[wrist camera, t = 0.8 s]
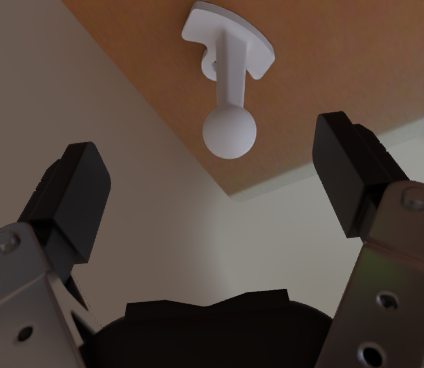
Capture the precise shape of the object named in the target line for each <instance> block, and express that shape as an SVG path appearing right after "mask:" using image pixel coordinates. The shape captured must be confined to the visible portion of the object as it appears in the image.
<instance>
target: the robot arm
mask: <svg viewBox="0 0 424 368" xmlns="http://www.w3.org/2000/svg"><path fill="white" fill-rule="evenodd" d="M312 156H313V163H314V167H315V169H316V171H317V173H318V175H319V178H320V180H321V182H322V184H323V186H324V189H325V191H326V193H327V195H328V197H329V200H330V202H331V204H332V206H333V209H334V211H335V213H336V215H337V217H338V220H339V222H340V224H341V226H342V228H343V231H344V233H345V235H346V237H347V238H354V237H360V238H361V240H362V242H363V246H362V248H361V251H360V253H359V256H358V258H357V261H356V263H355V266H354V268H353V271H352V273H351V276H350V278H349V281H348V283H347V286H346V289H345V291H344V293H343V296H342V298H341V301H340V303H339V306H338V308H337V311H336V313H335V316H334V318H333V319H332V318H331V317H329V316H328V315H326V314H325V313H323V312H321V311H319V310H318V309H316V308H313V307H311V306H309V305H306V304H303V303H299V302H296V301H290V300H289V297H288V292H287V289H279V290H269V291H257V292H246V293H244V294H241V295H238V296H235V297H233V298H230V299H227V300H225V301H221V302H219V303H216V304H213V305H211V306H205V307H203V306H197V305H191V304H186V303H180V302H174V301H168V300H160V301H148V302H137V303H127V306H126V312H125V316H123V317H121V318H119V319H117V320H115V321H113V322H111V323H110V324H108V325H106V326H105V327H103V328H102V326H101V325H100V324H99V322H98V320H97V319H96V317H95V316H94V314H93V312H92V310H91V308H90V306H89V304H88V302H87V300H86V298H85V296H84V294H83V292H82V290H81V288H80V286H79V284H78V282H77V281H76V279H75V277H74V275H73V274H72V273H71V271H72V268H73V265H74V264H83V263H88V260H89V258H90V254H91V251H92V248H93V244H94V241H95V238H96V235H97V231H98V228H99V225H100V222H101V218H102V215H103V212H104V209H105V205H106V202H107V198H108V195H109V192H110V189H111V180H110V175H109V173H108V171H107V169H106V166H105V164H104V162H103V160H102V158H101V156H100V154H99V152H98V150H97V148H96V146H95V144H94V143H92V142H83V143H74V144H69V145H68V147H67V148H66V150H65V152H64V154H63V156H62V158H61V159H58V160H57V161H56V162H54V163H53V164H52V165H51V166H50V167H49V168H48V169H47V170H46V172H45V174H44V175H43V177H42V179H41V182H40V183H39V184H38V186H37V188H36V191H34V193H33V194H32V196H31V198H30V200H29V202H28V203H27V205H26V207H25V208H24V210H23V212H22V214H21V215H20V217H19V219H18V221H17V222H16V223H12V224H9V225H6V226H4V227H2V228H0V368H424V183H421V182H416V181H411V180H410V179H409V178H408V177H407V176H406V174H405V173H404V172H403V170H402V169H401V168H400V167H399V165H398V164H397V163H396V162H395V160H394V159H393V158H392V156H391V155H390V154H389V152H386V149H385V147H384V146H383V145H382V144H381V143H380V141H379V140H378V138H377V137H376V136H375V135H374V133H373V132H372V131H370V130H369V129H367V128H365V127H364V126H362V125H360V124H352V123H351V121H350V120H349V118H348V117H347V116H346V114H345V113H344V112H343V111H339V112H331V113H323V114H319V115H318V118H317V123H316V130H315V137H314V143H313V151H312Z"/></svg>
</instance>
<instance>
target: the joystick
mask: <svg viewBox="0 0 424 368" xmlns="http://www.w3.org/2000/svg"><path fill="white" fill-rule="evenodd" d="M182 37H183V39H184V40H186V41H193V42H198V43H202V44H204V45H205V46H206V47H207V49H206V50H205V51H204V53H203V58H202V71H203V73H204V74H205V76H206V77H207V78H209V79H211V80H214V81H216V86H217V108H216V109H214V110H213V111H212V112H211V113H210V114H209V115H208V116H207V118H206V120H205V122H204V125H203V139H204V142H205V144H206V146H207V147H208V149H209V150H210V151H211V152H212V153H213V154H215V155H216V156H218V157H221V158H225V159H233V158H238V157H240V156H242V155H244V154H245V153H247V152H248V151H249V150H250V148H251V147H252V145H253V144H254V141H255V138H256V125H255V121H254V119H253V117H252V116H251V114H250V113H249V112H248V111H247V110H245V109H244V108H243V103H244V89H245V74H246V70H247V71H248V72H249V73H250V74H251V76H252V77H253V78H254V79H260V78H261V77H262V76H263V75H264V74H265V72H266V71H267V70H268V68H269V67H270V66H271V64H272V63H273V62H274V60H275V56H274V50H273V47H272V45H271V44H270V43H269V41H268V40H267V39H266V38H265V37H264V36H263V34H262V33H261V32H260V31H258V30H257V29H256V28H255V27H254V26H253V25H252V24H250V23H249V22H248V21H246V20H245V19H243V18H242V17H240V16H238V15H237V14H235V13H233V12H231V11H229V10H227V9H224V8H222V7H219V6H217V5H213V4H210V3H206V2H202V1H196V2H194V4H193V6H192V8H191V10H190V14H189V16H188V18H187V20H186V23H185V24H184V27H183V30H182ZM214 61H216V63H215V62H214Z"/></svg>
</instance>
